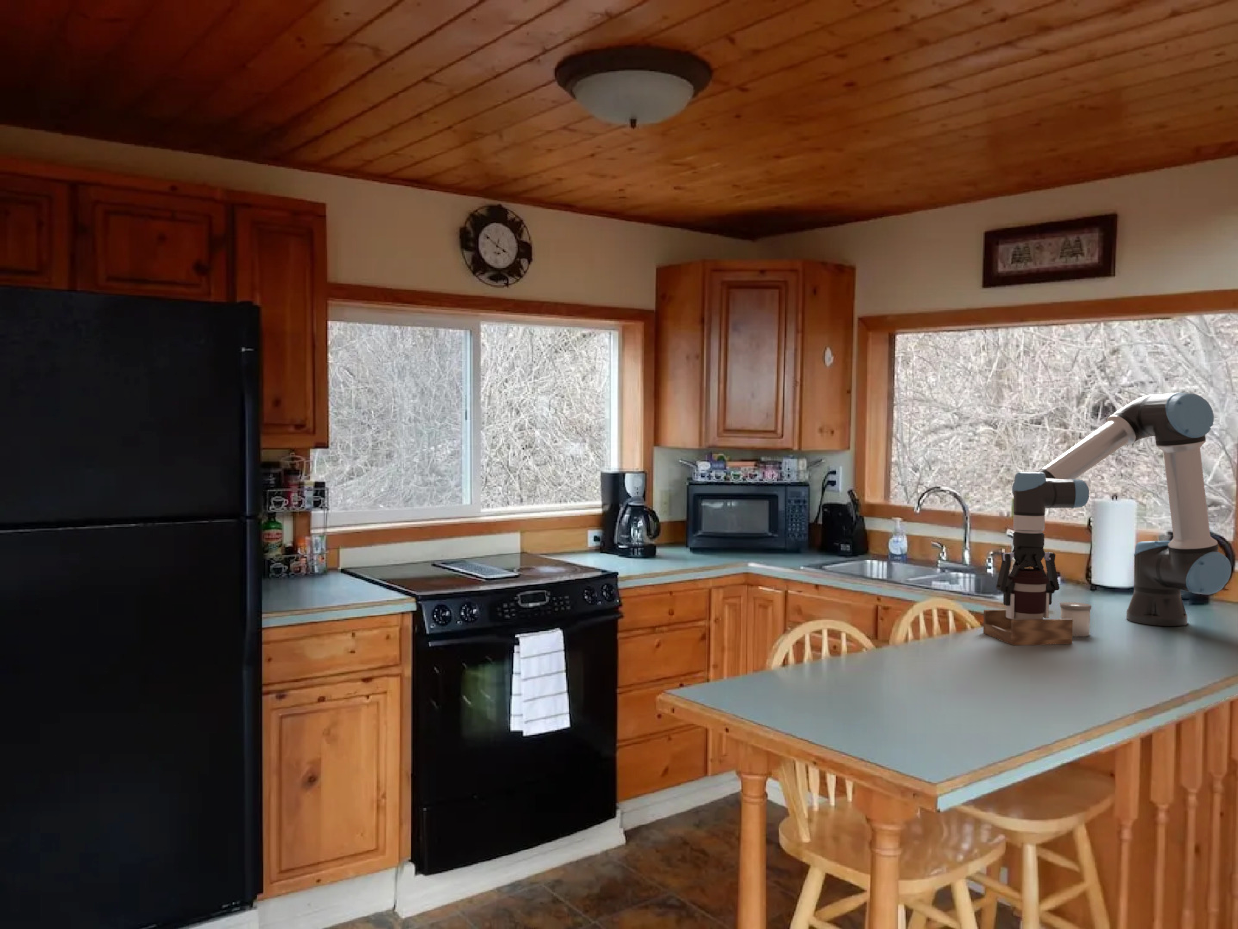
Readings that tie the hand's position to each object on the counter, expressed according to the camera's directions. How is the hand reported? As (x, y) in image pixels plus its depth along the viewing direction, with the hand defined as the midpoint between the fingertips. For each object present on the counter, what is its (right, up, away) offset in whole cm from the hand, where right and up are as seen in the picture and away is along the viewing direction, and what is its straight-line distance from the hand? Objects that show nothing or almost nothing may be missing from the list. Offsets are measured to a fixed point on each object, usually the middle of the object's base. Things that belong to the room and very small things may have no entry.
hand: (1027, 617), depth 253 cm
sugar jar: (+15, -5, +6) cm, 17 cm away
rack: (0, -5, 0) cm, 5 cm away
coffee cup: (0, -3, 0) cm, 3 cm away
